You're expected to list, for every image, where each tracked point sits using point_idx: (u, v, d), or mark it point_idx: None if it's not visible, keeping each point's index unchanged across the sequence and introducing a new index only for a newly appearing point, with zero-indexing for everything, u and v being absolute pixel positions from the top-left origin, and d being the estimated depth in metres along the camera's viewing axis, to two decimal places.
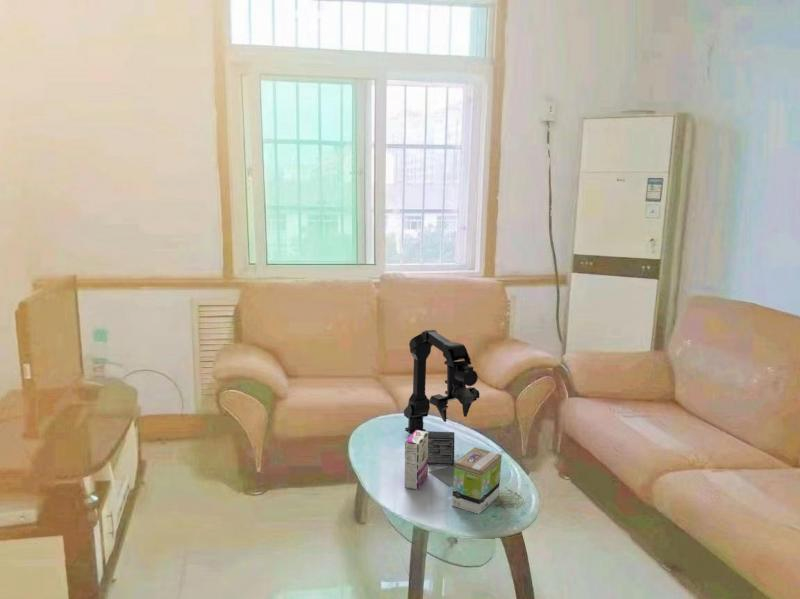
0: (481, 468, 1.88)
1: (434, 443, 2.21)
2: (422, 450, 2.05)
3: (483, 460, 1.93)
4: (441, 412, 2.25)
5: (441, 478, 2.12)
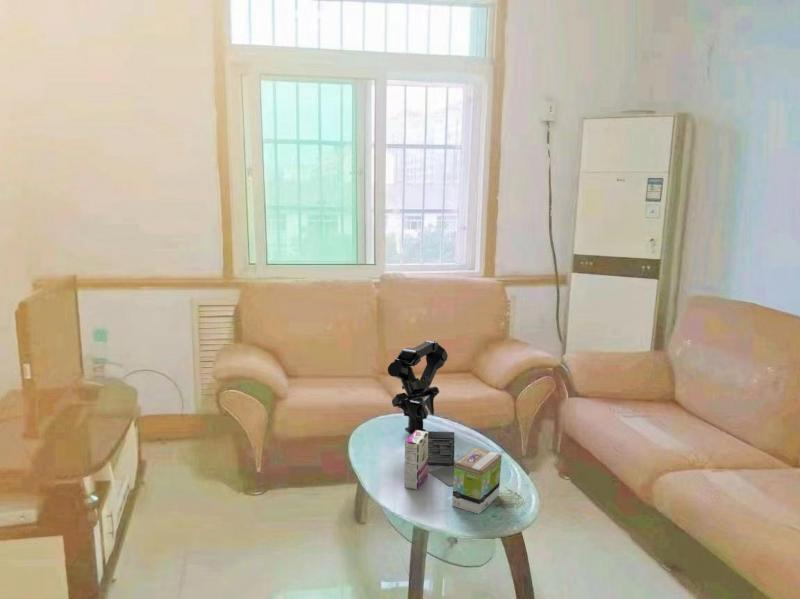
0: (481, 468, 1.88)
1: (434, 443, 2.21)
2: (422, 450, 2.05)
3: (483, 460, 1.93)
4: (408, 410, 2.32)
5: (441, 478, 2.12)
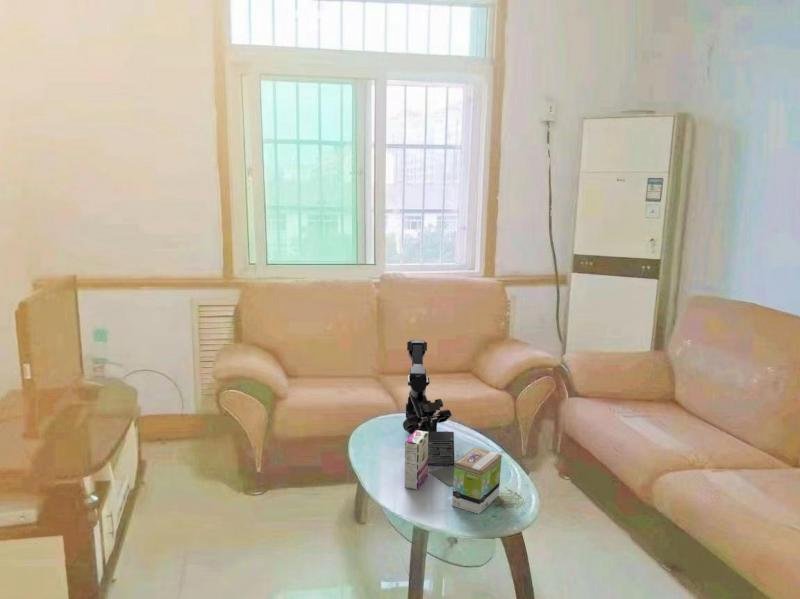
0: (481, 468, 1.88)
1: (434, 446, 2.20)
2: (422, 450, 2.05)
3: (483, 460, 1.93)
4: None
5: (441, 478, 2.12)
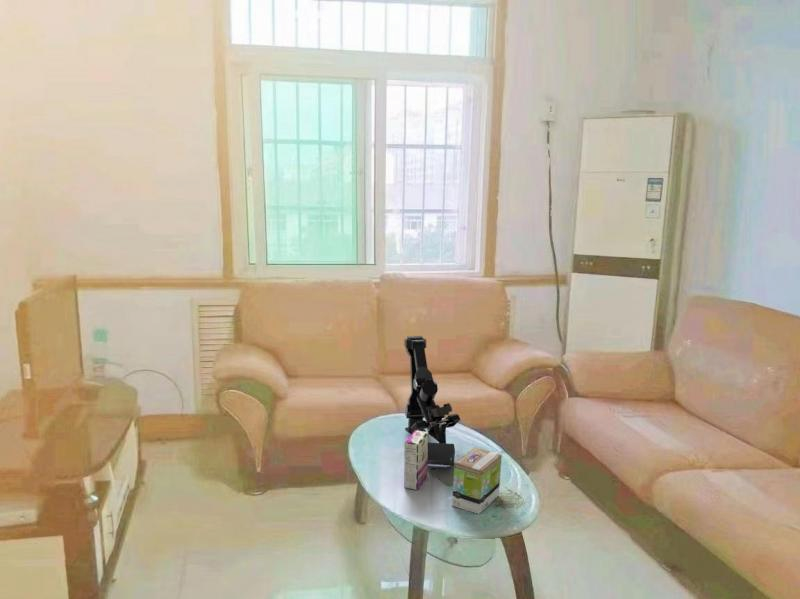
0: (481, 468, 1.88)
1: (433, 461, 2.15)
2: (421, 451, 2.05)
3: (483, 460, 1.93)
4: (437, 437, 2.23)
5: (441, 478, 2.12)
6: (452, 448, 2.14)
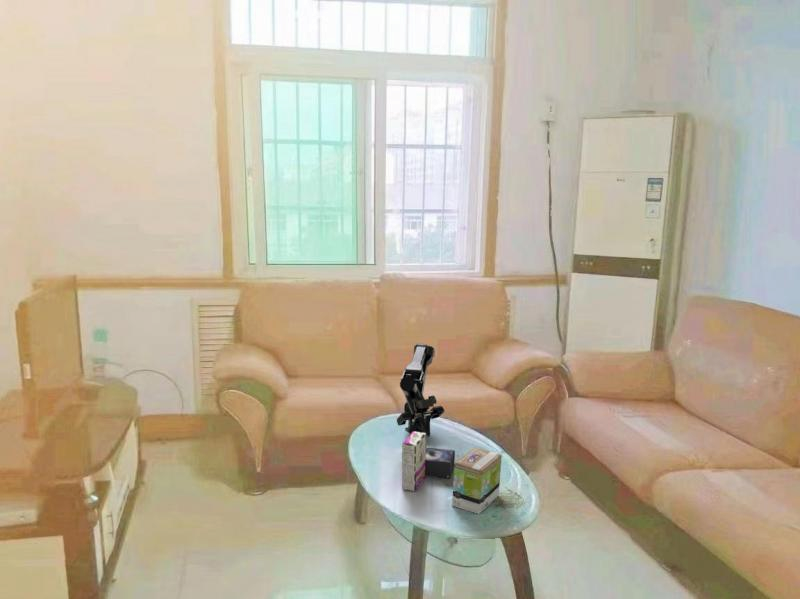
0: (481, 468, 1.88)
1: None
2: (419, 452, 2.04)
3: (483, 460, 1.93)
4: (421, 428, 2.32)
5: (441, 478, 2.12)
6: (449, 467, 2.11)
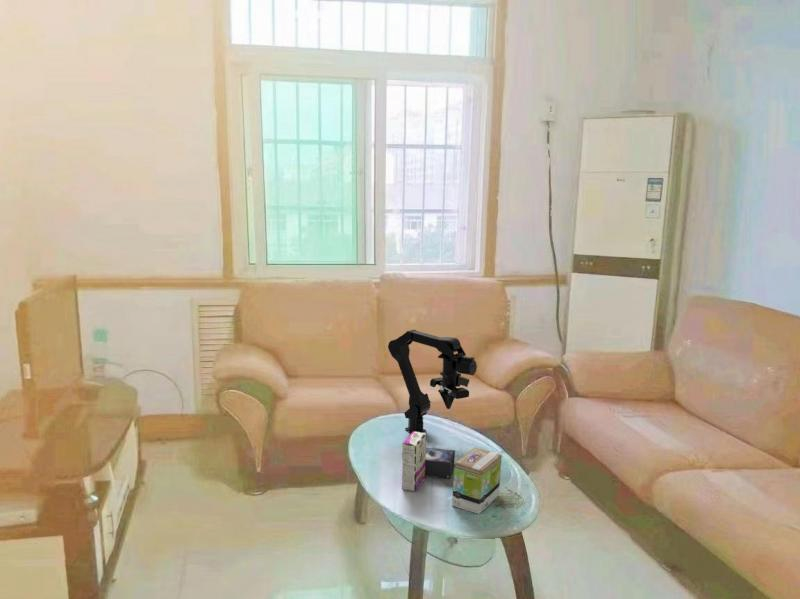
0: (481, 468, 1.88)
1: None
2: (419, 452, 2.04)
3: (483, 460, 1.93)
4: (450, 400, 2.41)
5: (441, 478, 2.12)
6: (449, 467, 2.11)
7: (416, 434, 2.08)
